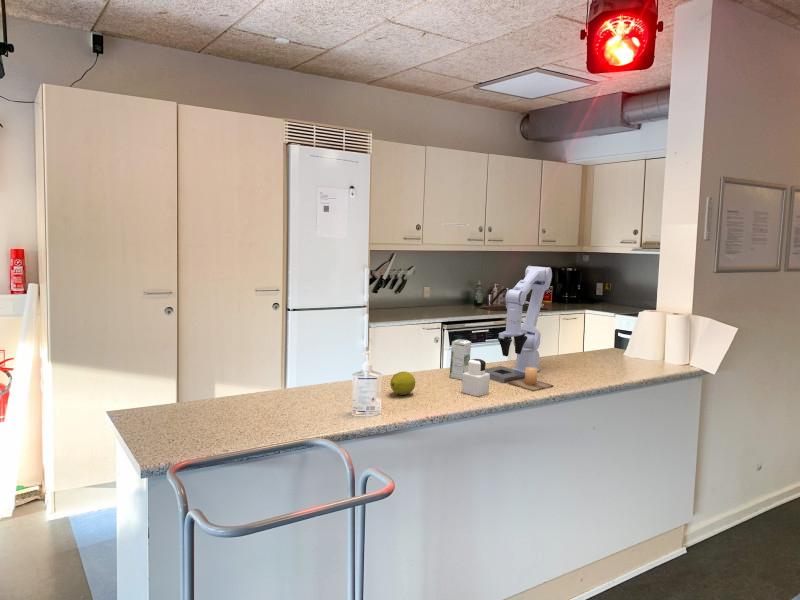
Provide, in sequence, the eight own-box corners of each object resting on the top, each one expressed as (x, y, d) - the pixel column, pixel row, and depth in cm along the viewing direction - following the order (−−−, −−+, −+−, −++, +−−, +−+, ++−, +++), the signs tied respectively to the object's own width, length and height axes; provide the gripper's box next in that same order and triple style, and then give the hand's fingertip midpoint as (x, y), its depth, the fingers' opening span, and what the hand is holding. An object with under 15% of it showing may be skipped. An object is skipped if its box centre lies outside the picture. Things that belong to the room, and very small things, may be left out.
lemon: (405, 389, 217) (406, 367, 216) (420, 394, 211) (421, 372, 210) (382, 394, 210) (383, 371, 209) (397, 400, 204) (398, 376, 203)
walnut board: (528, 379, 238) (528, 377, 238) (553, 386, 229) (553, 385, 229) (507, 383, 231) (508, 382, 231) (533, 391, 222) (533, 389, 221)
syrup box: (455, 374, 240) (457, 338, 239) (469, 377, 237) (471, 340, 236) (449, 377, 236) (451, 341, 234) (463, 380, 233) (465, 343, 231)
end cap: (529, 381, 233) (530, 366, 232) (538, 384, 230) (540, 368, 229) (522, 383, 230) (523, 367, 229) (531, 385, 227) (532, 370, 226)
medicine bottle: (472, 388, 221) (474, 356, 220) (489, 393, 217) (491, 360, 215) (461, 392, 216) (463, 359, 214) (478, 397, 212) (480, 363, 210)
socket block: (500, 370, 250) (501, 365, 250) (527, 378, 240) (528, 373, 239) (477, 375, 241) (477, 370, 241) (504, 383, 231) (504, 378, 231)
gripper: (509, 323, 228) (507, 359, 230) (533, 320, 238) (531, 354, 240) (495, 320, 234) (493, 355, 235) (519, 317, 243) (517, 351, 245)
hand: (511, 354), depth 238 cm, fingers open, 7 cm apart
